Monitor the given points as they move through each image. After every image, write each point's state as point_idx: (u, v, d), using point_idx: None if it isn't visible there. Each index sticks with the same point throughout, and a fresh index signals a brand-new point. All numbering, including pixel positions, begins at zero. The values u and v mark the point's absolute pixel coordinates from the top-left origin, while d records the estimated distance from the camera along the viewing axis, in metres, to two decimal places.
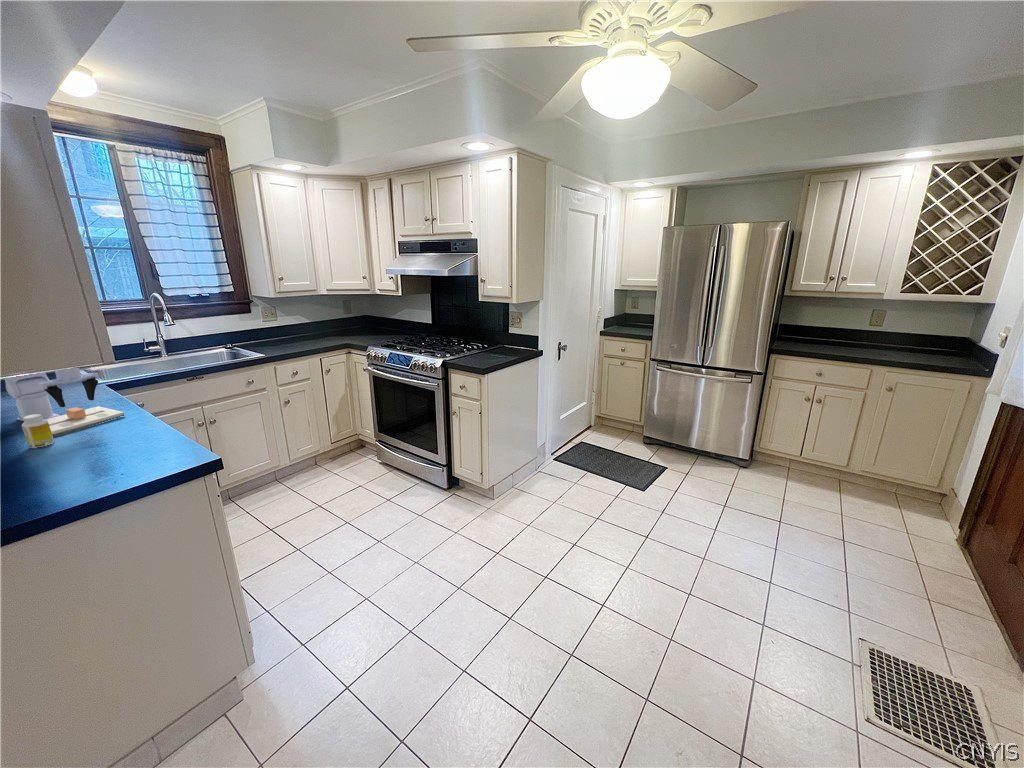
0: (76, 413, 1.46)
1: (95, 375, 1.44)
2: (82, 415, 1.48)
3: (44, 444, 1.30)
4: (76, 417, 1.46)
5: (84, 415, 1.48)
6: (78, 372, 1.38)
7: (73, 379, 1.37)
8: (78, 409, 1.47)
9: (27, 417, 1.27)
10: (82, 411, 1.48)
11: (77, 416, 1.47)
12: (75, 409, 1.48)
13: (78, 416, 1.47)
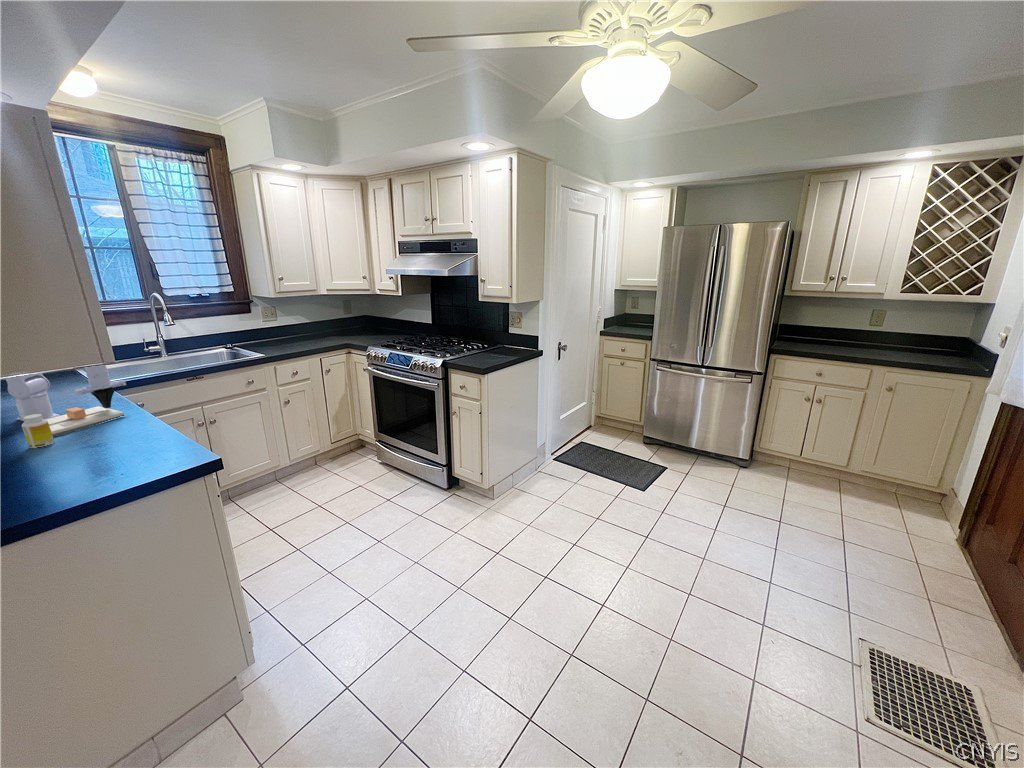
0: (76, 413, 1.46)
1: (122, 382, 1.59)
2: (82, 415, 1.48)
3: (44, 444, 1.30)
4: (76, 417, 1.46)
5: (84, 415, 1.48)
6: (108, 380, 1.54)
7: (104, 386, 1.52)
8: (78, 409, 1.47)
9: (27, 417, 1.27)
10: (82, 411, 1.48)
11: (77, 416, 1.47)
12: (75, 409, 1.48)
13: (78, 416, 1.47)
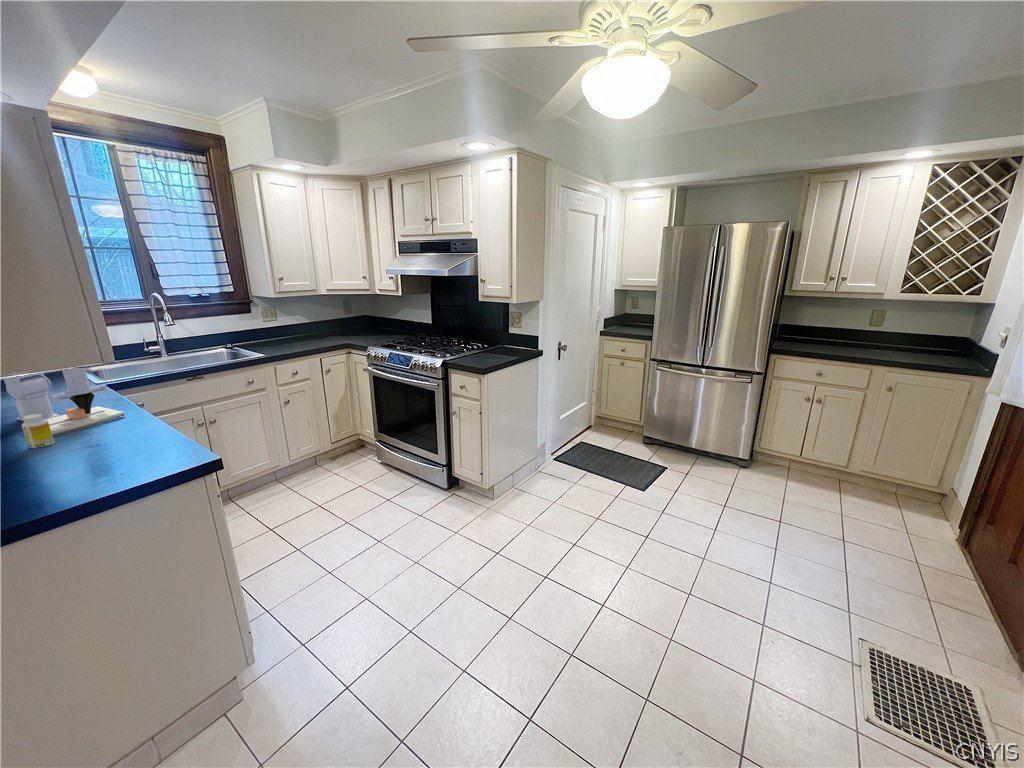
0: (75, 413, 1.46)
1: (103, 387, 1.54)
2: (82, 415, 1.48)
3: (44, 444, 1.30)
4: (76, 417, 1.46)
5: (84, 415, 1.48)
6: (88, 385, 1.49)
7: (83, 391, 1.47)
8: (77, 409, 1.47)
9: (27, 417, 1.27)
10: (82, 411, 1.48)
11: (77, 416, 1.47)
12: (75, 409, 1.48)
13: (78, 416, 1.47)
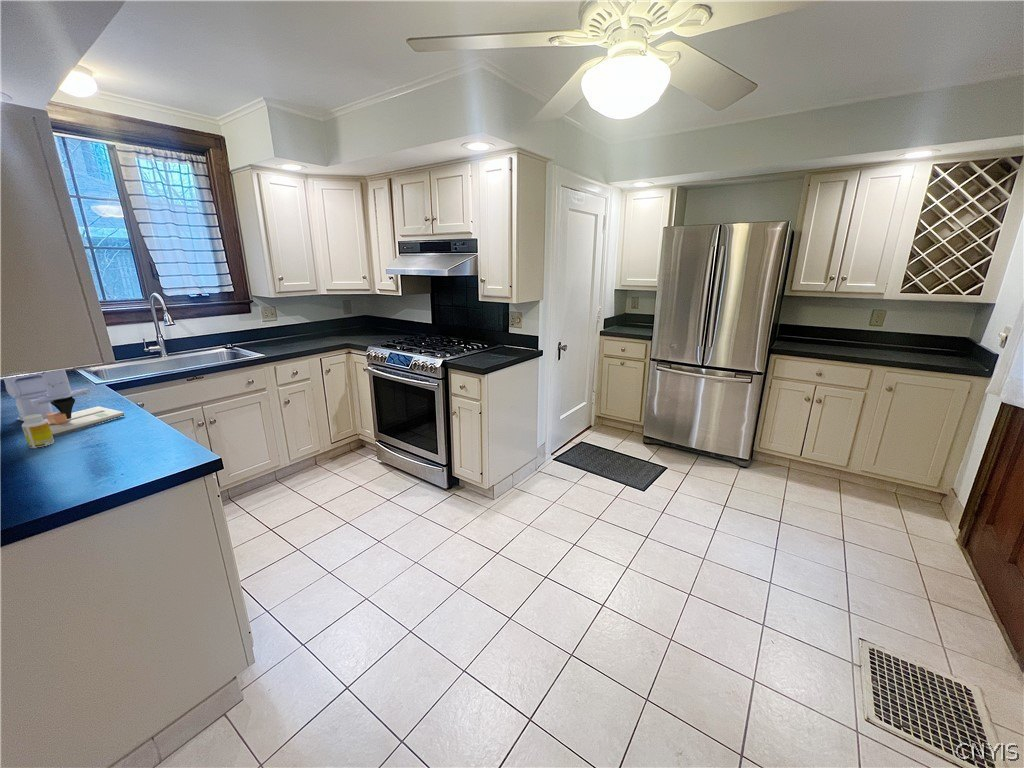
0: (56, 418, 1.42)
1: (85, 391, 1.49)
2: (63, 420, 1.43)
3: (44, 444, 1.30)
4: (57, 422, 1.42)
5: (65, 420, 1.44)
6: (68, 389, 1.44)
7: (64, 395, 1.42)
8: (59, 414, 1.43)
9: (27, 417, 1.27)
10: (63, 416, 1.43)
11: (58, 421, 1.42)
12: (56, 414, 1.43)
13: (59, 421, 1.42)
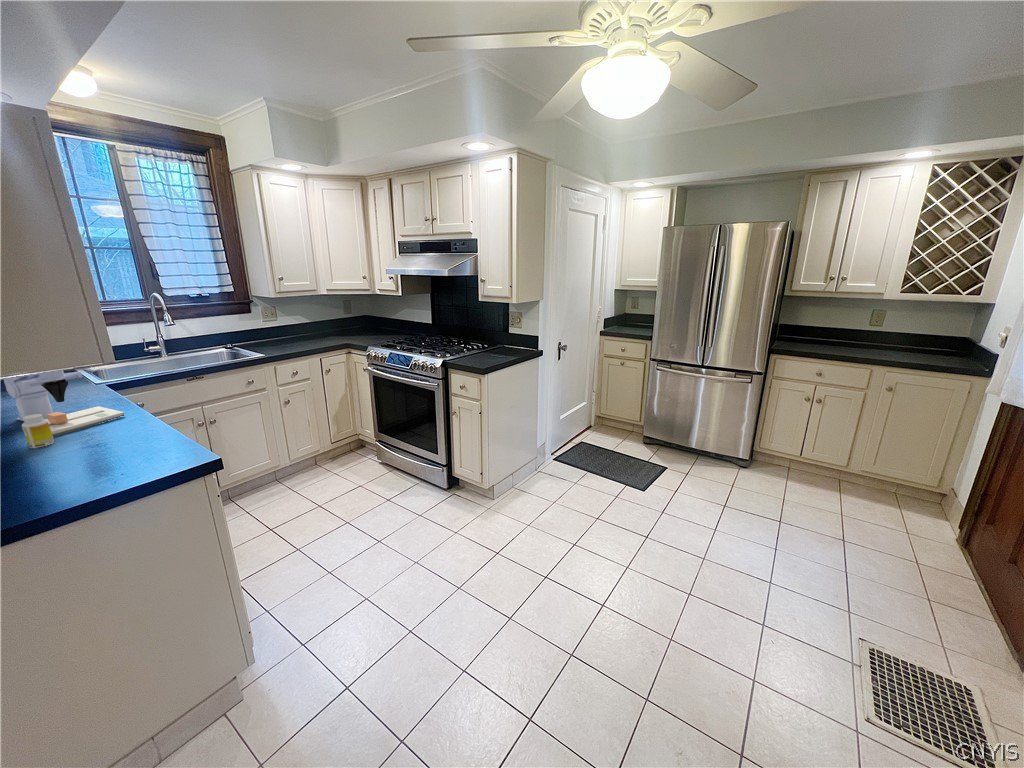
0: (57, 418, 1.42)
1: (78, 374, 1.47)
2: (64, 420, 1.43)
3: (44, 444, 1.30)
4: (57, 422, 1.42)
5: (66, 420, 1.44)
6: (61, 371, 1.41)
7: (56, 378, 1.39)
8: (59, 414, 1.43)
9: (27, 417, 1.27)
10: (63, 416, 1.43)
11: (58, 421, 1.42)
12: (56, 414, 1.43)
13: (59, 421, 1.42)
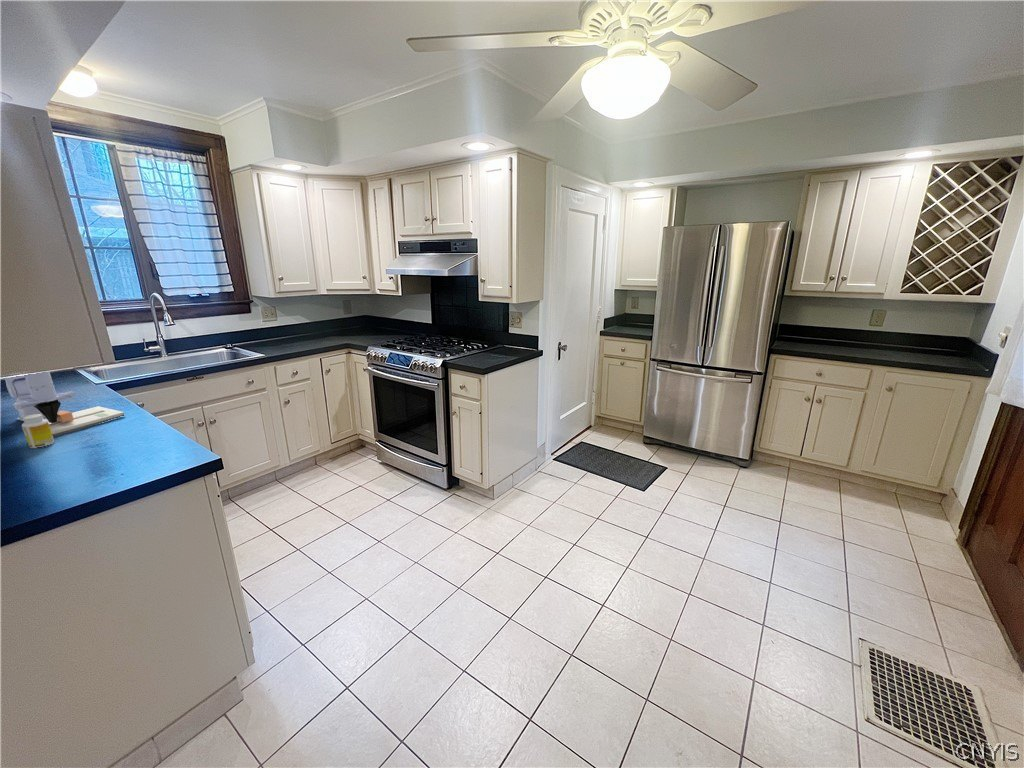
0: (63, 416, 1.43)
1: (71, 394, 1.45)
2: (69, 418, 1.45)
3: (44, 444, 1.30)
4: (63, 420, 1.43)
5: (71, 418, 1.45)
6: (53, 392, 1.40)
7: (48, 399, 1.38)
8: (65, 413, 1.44)
9: (27, 417, 1.27)
10: (69, 414, 1.45)
11: (64, 419, 1.43)
12: (62, 412, 1.44)
13: (65, 419, 1.44)
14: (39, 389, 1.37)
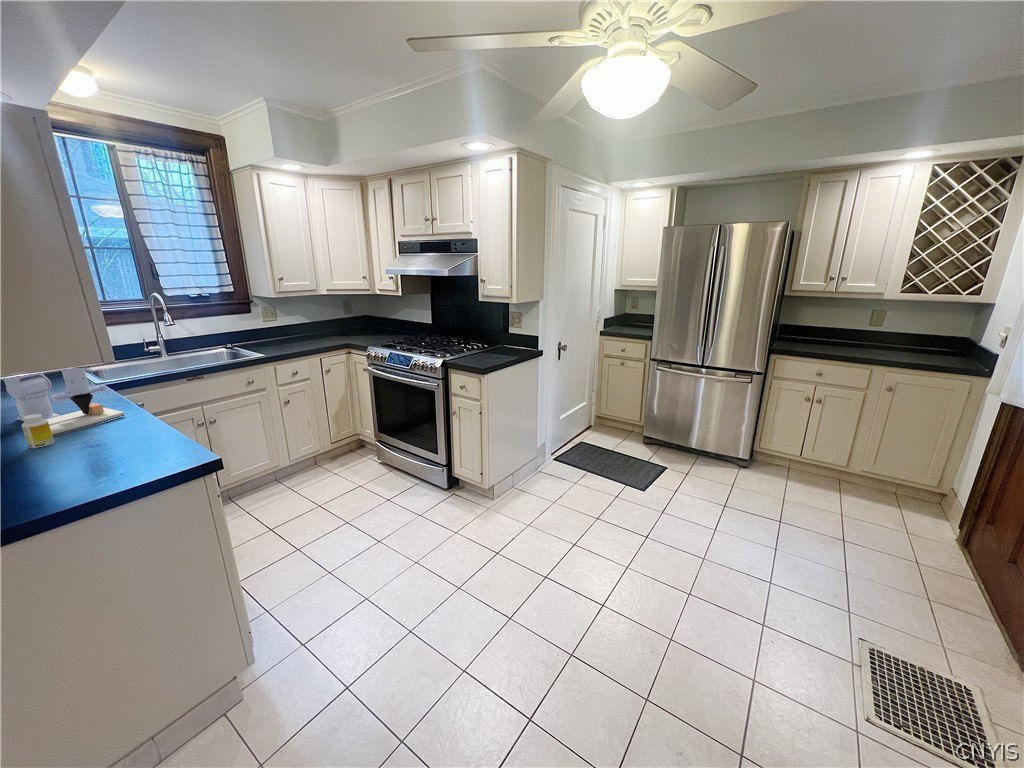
0: (94, 408, 1.51)
1: (103, 387, 1.54)
2: (100, 410, 1.53)
3: (44, 444, 1.30)
4: (94, 412, 1.51)
5: (102, 410, 1.53)
6: (87, 385, 1.48)
7: (82, 391, 1.47)
8: (96, 405, 1.52)
9: (27, 417, 1.27)
10: (100, 406, 1.52)
11: (95, 411, 1.51)
12: (93, 405, 1.52)
13: (96, 411, 1.52)
14: (74, 382, 1.45)
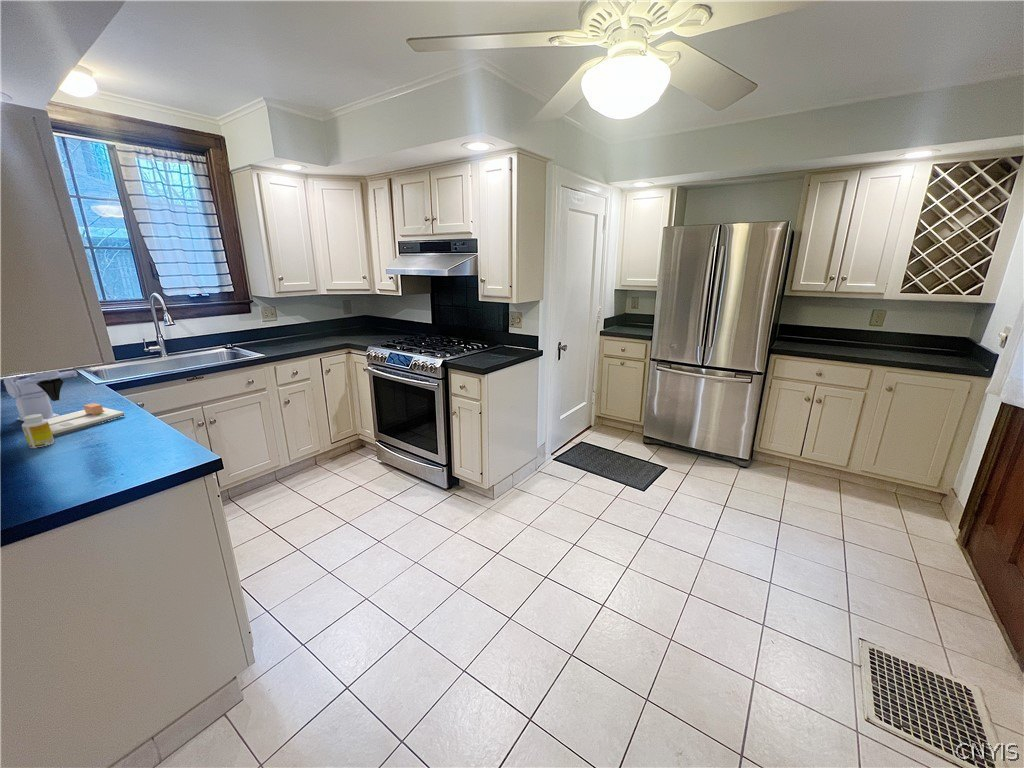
0: (93, 408, 1.51)
1: (73, 373, 1.48)
2: (99, 411, 1.52)
3: (44, 444, 1.30)
4: (94, 412, 1.51)
5: (101, 411, 1.53)
6: None
7: (51, 377, 1.40)
8: (95, 405, 1.52)
9: (27, 417, 1.27)
10: (99, 407, 1.52)
11: (95, 411, 1.51)
12: (93, 405, 1.52)
13: (96, 411, 1.51)
14: None
